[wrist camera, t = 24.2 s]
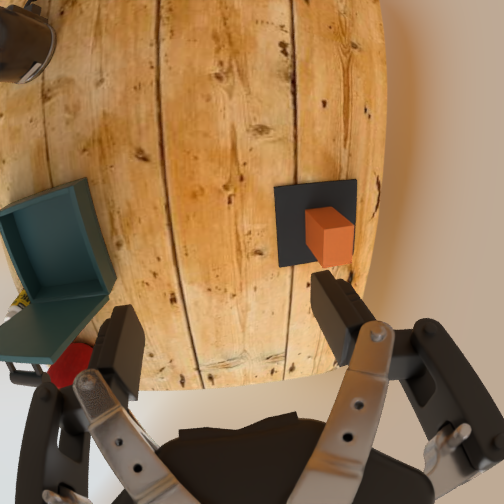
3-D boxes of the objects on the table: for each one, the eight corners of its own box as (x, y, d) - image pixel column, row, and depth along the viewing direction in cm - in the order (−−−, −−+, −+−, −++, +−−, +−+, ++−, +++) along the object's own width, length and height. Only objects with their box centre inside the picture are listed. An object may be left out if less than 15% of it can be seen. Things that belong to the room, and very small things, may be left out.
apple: (52, 338, 42) (29, 390, 30) (87, 327, 42) (65, 387, 30) (83, 372, 47) (69, 424, 35) (119, 365, 47) (107, 423, 35)
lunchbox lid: (-32, 351, 17) (-13, 389, 18) (50, 357, 18) (74, 403, 19) (30, 303, 33) (41, 334, 34) (108, 294, 34) (118, 329, 35)
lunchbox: (9, 203, 30) (-6, 213, 26) (86, 177, 31) (73, 185, 27) (42, 289, 37) (32, 304, 33) (117, 278, 38) (109, 294, 35)
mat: (273, 186, 36) (274, 187, 35) (355, 179, 37) (357, 179, 36) (278, 266, 41) (279, 267, 41) (352, 253, 42) (353, 254, 42)
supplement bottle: (42, 289, 37) (21, 320, 30) (45, 310, 39) (26, 341, 32) (21, 282, 36) (-1, 311, 28) (25, 302, 38) (5, 332, 30)
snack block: (304, 209, 37) (323, 229, 31) (331, 206, 38) (354, 225, 32) (305, 243, 40) (322, 268, 34) (331, 239, 40) (351, 263, 34)
